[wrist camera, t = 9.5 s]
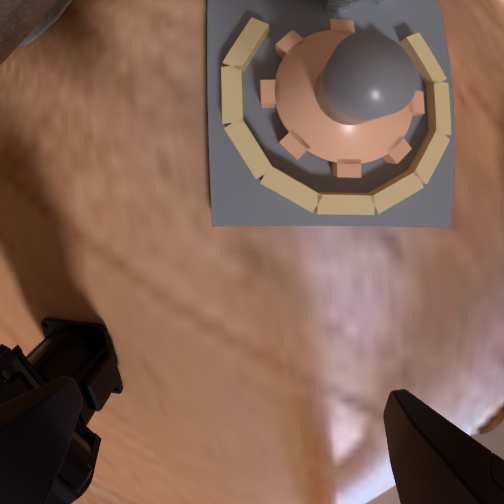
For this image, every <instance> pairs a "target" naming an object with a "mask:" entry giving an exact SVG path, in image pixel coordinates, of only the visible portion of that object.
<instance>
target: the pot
mask: <svg viewBox="0 0 504 504" xmlns="http://www.w3.org/2000/svg"><path fill="white" fill-rule="evenodd" d="M72 1H73V0H0V65H1V64H2V63H3V62H4V61H5V60H6V59H7V58H8V57H9V55H10V54H11V53H12V52H13V51H14V50H15V49H16V48H17V47H20V46H25V45H27V44H29V43H30V42H32V41H33V40H35V39H36V38H38V37H39V36H40V35H41V34H42V33H43V32H44V31H45V30H47V29H48V28H49V27H50V26H51V25H52V24H53V23H54V22H55V21H57V20H58V19H59V17H60V16H61V15H62V13H63V12H64V11H65V10H66V8H67V7H68V6H69V5H70V3H71V2H72Z"/></svg>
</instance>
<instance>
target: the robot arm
mask: <svg viewBox="0 0 504 504" xmlns="http://www.w3.org/2000/svg"><path fill="white" fill-rule="evenodd" d="M41 325H42V328H43V332H44V335H45V339H44V340H43V341H42V342H41V343H40V344H39V345H38V346H36V347H35V348H34V349H33V350H32V351H31V352H30V353H29V354H28V355H27V356H26V357H25V355H24V354H23V353H22V349H21V348H20V347H19V345H17V346H15V347H14V348H13V349H12V350H11V349H10V348H8V347H6V346H4V345H3V344H1V345H0V504H71V503H72V502H74V501H75V500H77V499H78V498H79V497H80V496H82V494H83V493H84V492H85V491H86V490H87V488H88V487H89V485H90V483H91V481H92V478H93V473H94V469H95V464H96V460H97V455H98V451H99V447H100V443H101V438H100V437H99V436H98V435H97V434H96V433H95V434H94V433H93V432H92V431H91V430H90V429H89V428H88V427H87V424H88V422H89V421H90V419H91V418H92V416H93V414H94V413H95V411H100V410H101V409H102V408H103V406H104V404H105V403H106V401H107V399H108V398H109V396H110V395H111V393H117V394H120V393H121V392H122V390H123V385H122V382H121V379H120V378H121V377H120V374H119V371H118V367H117V364H116V361H115V357H114V354H113V352H112V349H111V345H110V342H109V338H108V334H107V330H106V328H105V327H104V326H103V325H101V324H93V323H85V322H76V321H68V320H61V319H53V318H44V319H43V320H42V321H41ZM99 330H100V331H101V333H100V332H99ZM383 417H384V424H385V430H386V437H387V443H388V450H389V457H390V463H391V467H392V472H393V475H394V479H395V483H396V487H397V491H398V494H399V498H400V502H401V504H504V460H503V459H501V458H500V457H499V456H497V455H496V454H494V453H492V452H491V451H490V450H489V449H487V448H486V447H484V446H483V445H482V444H480V443H479V442H477V441H476V440H474V439H473V438H472V437H470V436H469V435H468V434H466V433H465V432H463V431H462V430H461V429H459V428H458V427H457V426H455V425H454V424H452V423H451V422H450V421H448V420H447V419H445V418H444V417H443V416H441V415H440V414H439V413H437V412H436V411H435V410H433V409H432V408H430V407H429V406H428V405H426V404H425V403H424V402H422V401H421V400H420V399H418V398H417V397H415V396H414V395H413V394H411V393H410V392H409V391H407V390H405V389H400V390H393V391H391V392H390V394H389V397H388V400H387V403H386V407H385V410H384V416H383Z"/></svg>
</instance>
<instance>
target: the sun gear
mask: <svg viewBox="0 0 504 504" xmlns="http://www.w3.org/2000/svg"><path fill="white" fill-rule="evenodd" d="M321 1H324V10H325V11H333V12H344V13H346V12H347V10H348V8H349V6H350V4H351V3H352V2H358V1H362V0H321ZM371 1H372V2H374V3H375V4H376V5H377V6H378V5H380V4H381V3H382V2H384V1H385V0H371Z"/></svg>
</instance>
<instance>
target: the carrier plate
mask: <svg viewBox="0 0 504 504" xmlns="http://www.w3.org/2000/svg"><path fill="white" fill-rule="evenodd" d="M330 19H341V20H351V21H353V22H354V30H355V33H358V32H374V33H378V34H381V35H384V36H386V37H388V38H390V39H392V40H394V41H395V42H396V43H398V44H399V45H400V46H401V47H402V48H403V49H404V50H405V51H406V53H407V54H408V56H409V57H410V59H411V61H412V62H413V65H414V67H415V71H416V76H417V86H416V90H417V91H423V94H424V111H425V114H421V115H416V116H412V119H411V123H410V126H409V128H408V130H407V133H406V134H405V136H404V139H405V140H406V142H407V143H408V144H409V145H410V147H411V148H412V149H411V150H410V151H409V152H408V154H407V155H406V156H405V157H404V158H403V159H402V160H401V161H400V162H399V163H398V164H392V163H387V162H386V161H385V160H384V159H383V158H382V157H381V158H379V159H377V160H374V161H371V162H367V163H361V178H348V177H335V176H333V175H332V162H331V161H326V160H323V159H321V158H318V157H316V156H314V155H312V154H310V153H308V152H307V151H306V152H305V153H304V154H303V155H302V156H301V157H300V158H299V159H298V160H295V159H294V158H293V157H292V156H291V155H290V154H289V153H288V152H287V151H286V150H285V149H284V148H283V147H282V146H281V145H279V144H278V143H279V142H280V141H281V140H282V139H283V138H284V137H285V136H286V135H287V134H288V133H287V132H286V130H285V129H284V127H283V125H282V123H281V122H280V119H279V116H278V114H277V110H276V108H262V105H261V86H260V80H275V79H276V74H277V71H278V68H279V65H280V63H281V61H282V58H281V57H279V56H278V55H277V54H276V53H275V52H276V43H278V42H279V41H280V40H281V39H282V38H283V37H284V36H286V35H287V34H288V33H289V32H290V31H291V30H294V31H295V32H296V33H297V34H299V35H300V36H301V37H302V38H305V37H307V36H309V35H312V34H314V33H317V32H322V31H326V27H327V25H328V22H329V20H330ZM207 89H208V136H209V166H210V190H211V212H212V226H396V227H437V228H450V226H451V216H452V205H453V191H454V169H455V124H454V103H453V90H452V79H451V70H450V62H449V54H448V47H447V41H446V35H445V30H444V24H443V19H442V14H441V10H440V5H439V1H438V0H385V1H384V2H382V3H381V4H380V5H378V6H377V5H376V4H375V3H374V2H372V1H371V0H362V1H358V2H352V3H351V4H350V6H349V8H348V10H347V12H346V13H344V12H333V11H325V10H324V1H321V0H208V10H207Z"/></svg>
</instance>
